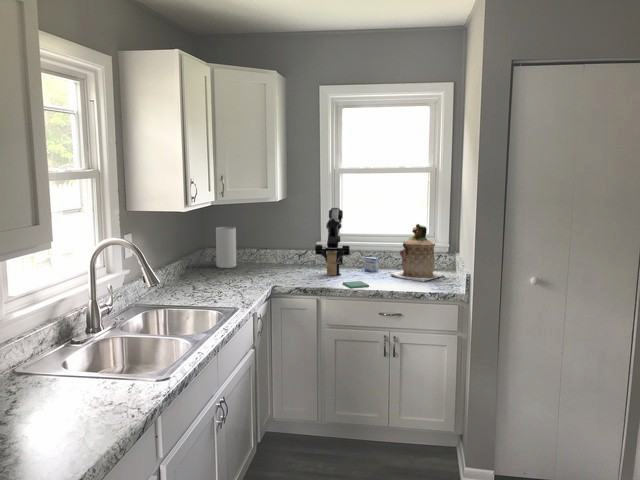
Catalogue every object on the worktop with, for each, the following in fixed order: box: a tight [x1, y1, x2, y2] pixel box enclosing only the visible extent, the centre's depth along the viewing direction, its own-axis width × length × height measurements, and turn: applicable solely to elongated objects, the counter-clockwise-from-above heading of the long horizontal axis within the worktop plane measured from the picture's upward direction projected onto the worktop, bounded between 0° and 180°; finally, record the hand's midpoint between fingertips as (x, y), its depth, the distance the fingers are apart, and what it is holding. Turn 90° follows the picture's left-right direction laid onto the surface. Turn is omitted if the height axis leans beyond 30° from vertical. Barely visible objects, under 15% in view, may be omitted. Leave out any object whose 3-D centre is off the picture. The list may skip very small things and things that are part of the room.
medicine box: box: [364, 256, 380, 273], centre depth 340 cm, size 8×4×9 cm, turn 62°
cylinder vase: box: [215, 226, 237, 269], centre depth 350 cm, size 12×12×25 cm
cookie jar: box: [389, 223, 445, 283], centre depth 324 cm, size 25×25×32 cm
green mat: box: [342, 280, 370, 289], centre depth 301 cm, size 11×11×1 cm
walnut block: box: [326, 251, 337, 276], centre depth 296 cm, size 5×5×12 cm
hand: (331, 262), depth 294 cm, fingers closed on walnut block, 5 cm apart
